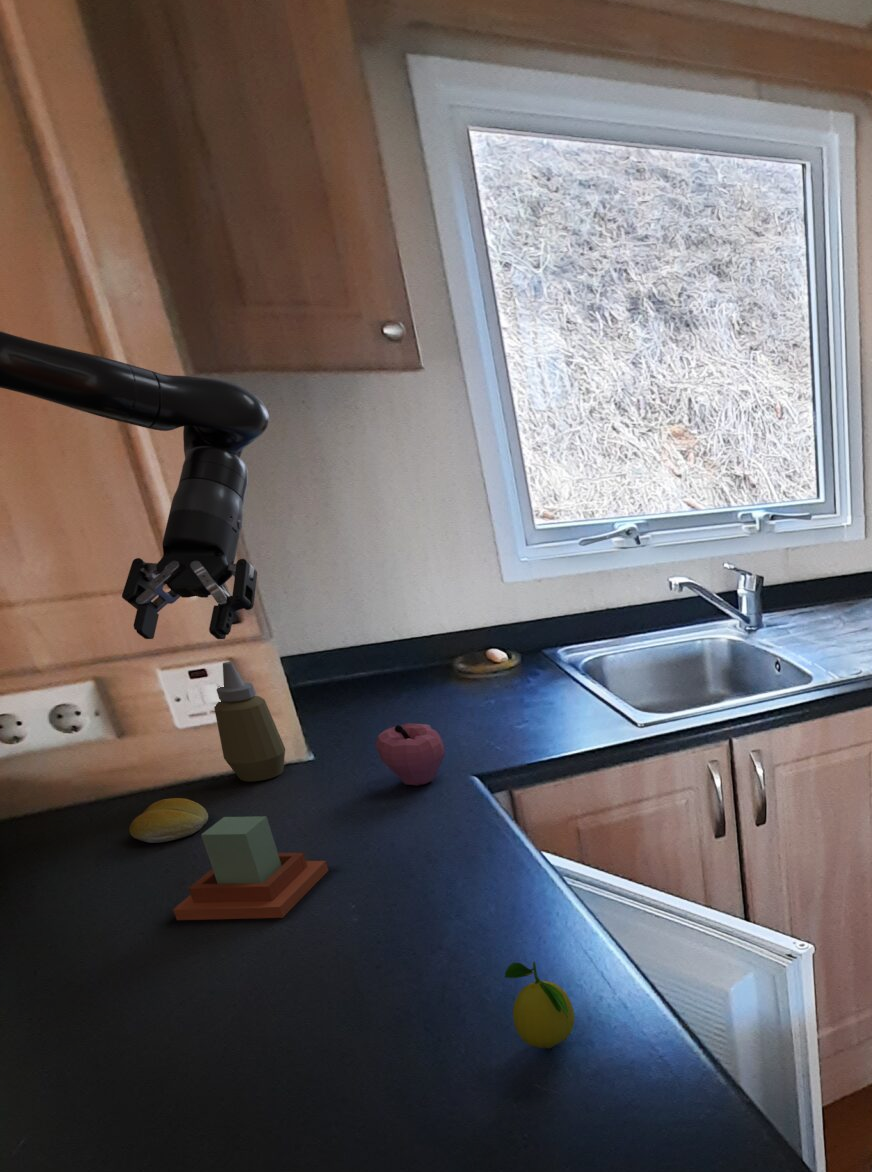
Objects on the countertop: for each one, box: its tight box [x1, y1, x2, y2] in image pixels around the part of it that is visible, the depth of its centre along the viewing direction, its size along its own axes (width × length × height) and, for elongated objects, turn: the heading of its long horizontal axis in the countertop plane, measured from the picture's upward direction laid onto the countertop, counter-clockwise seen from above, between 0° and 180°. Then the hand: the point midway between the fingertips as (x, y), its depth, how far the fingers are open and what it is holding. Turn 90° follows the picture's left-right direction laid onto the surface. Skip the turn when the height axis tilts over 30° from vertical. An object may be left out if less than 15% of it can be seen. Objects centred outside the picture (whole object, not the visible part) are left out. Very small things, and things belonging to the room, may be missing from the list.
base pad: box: [172, 852, 329, 921], centre depth 129 cm, size 12×12×4 cm
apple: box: [375, 722, 446, 787], centre depth 159 cm, size 10×9×10 cm
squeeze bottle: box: [213, 661, 286, 782], centre depth 159 cm, size 8×8×18 cm
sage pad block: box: [200, 815, 282, 884], centre depth 127 cm, size 5×5×8 cm
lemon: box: [504, 960, 575, 1049], centre depth 102 cm, size 7×6×10 cm
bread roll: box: [128, 797, 209, 844], centre depth 144 cm, size 8×9×4 cm
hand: (180, 636), depth 130 cm, fingers open, 8 cm apart
